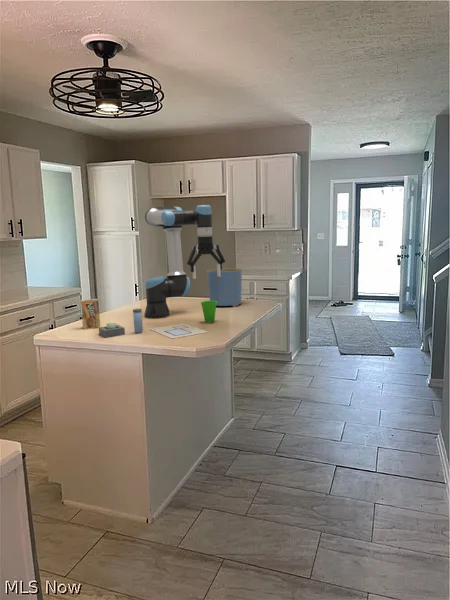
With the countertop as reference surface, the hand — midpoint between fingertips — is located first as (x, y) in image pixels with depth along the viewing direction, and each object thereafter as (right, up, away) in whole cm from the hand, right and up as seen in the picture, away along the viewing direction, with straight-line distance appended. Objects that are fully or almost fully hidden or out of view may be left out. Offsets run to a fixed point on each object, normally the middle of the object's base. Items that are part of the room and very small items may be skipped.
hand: (206, 277), depth 236 cm
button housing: (-48, -29, -5) cm, 56 cm away
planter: (+10, -15, +69) cm, 71 cm away
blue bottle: (-35, -28, -3) cm, 45 cm away
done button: (-48, -27, -5) cm, 55 cm away
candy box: (-63, -27, +14) cm, 70 cm away
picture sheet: (-14, -27, -3) cm, 31 cm away
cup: (+1, -24, +17) cm, 29 cm away
